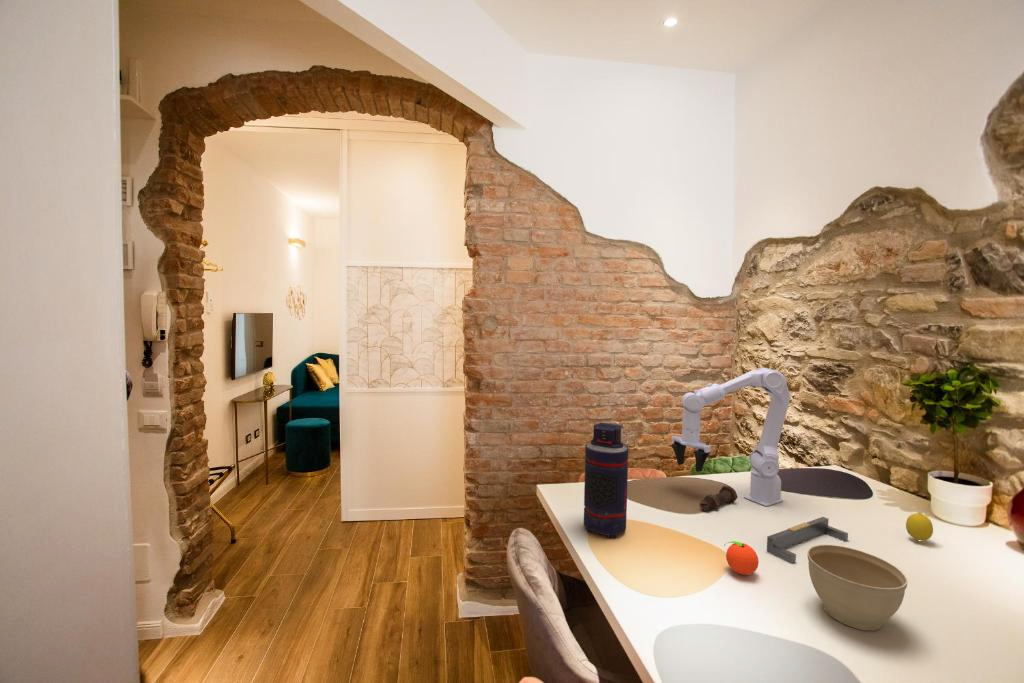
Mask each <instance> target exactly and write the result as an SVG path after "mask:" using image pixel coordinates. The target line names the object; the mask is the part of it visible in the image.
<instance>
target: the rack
mask: <svg viewBox="0 0 1024 683" xmlns="http://www.w3.org/2000/svg"><path fill="white" fill-rule="evenodd" d="M823 535H828V536H830V537H832V538H834V539H837V538H838V539H837V540H840V541H842V540H843V541H842V542H847V541H848V539H849V533H848V532H846V531H843V530H841V529H838V528H835V527H833V526H830V525H829V518H828V517H825V516H821V517H818V518H815V519H813V520H810V521H807V522H803V523H800V524H797V525H794V526H791V527H788V528H787V529H785V530H782V531H779V532H777V533H773V534H771V535H770V534H769V535H768V536H766V537H767V538H766V552H767V553H769V554H771V555H773V556H775V557H777V558H779V559H781V560H783V561H786V562H787V563H790V564H795V563H796V561H797V560H796V559H797V554H796V553H794V552H792V551H789V550H788V549H790V548H793V547H794V546H797V545H799V544H802V543H804V542H807V541H809V540H812V539H815V538H817V537H820V536H823ZM846 540H847V541H846Z"/></svg>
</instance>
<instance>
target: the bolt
mask: <svg viewBox="0 0 1024 683" xmlns="http://www.w3.org/2000/svg"><path fill="white" fill-rule="evenodd" d="M737 499H738V494H737V492H736V490H735V489H734V488H733V487H731V486H729V485H728V486H727V485H723V486H722V487H721V489H720V490H719V491H718V493H716V494H711V493H708V494H706V495H705V497H704V499H703V500H701V501H700V502H699V507H700V508H701V509H702V511H704V512H705V511H709V510H711V509H713V510H712V511H717V509H718V508H719V507H720V505H722V504H725V503H728V502H729V503H728V504H731V503H732V504H734V503H735V502H736V501H737Z"/></svg>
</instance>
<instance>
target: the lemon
mask: <svg viewBox="0 0 1024 683" xmlns="http://www.w3.org/2000/svg"><path fill="white" fill-rule="evenodd" d="M933 527H934V526H933V523H932V521H931V519H929V517H927V516H926V515H924V514H923V513H921V512H917V513H913V514H910V515H909V516H908V517H907V519H906V522H905V529H906V532H907V534H908V535H909V536H910V537H912V538H913V539H915V540H916V539H917V540H922V541H928V540H929V539H931V537H932V536H933V534H934V528H933ZM917 540H916V541H917Z"/></svg>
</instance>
